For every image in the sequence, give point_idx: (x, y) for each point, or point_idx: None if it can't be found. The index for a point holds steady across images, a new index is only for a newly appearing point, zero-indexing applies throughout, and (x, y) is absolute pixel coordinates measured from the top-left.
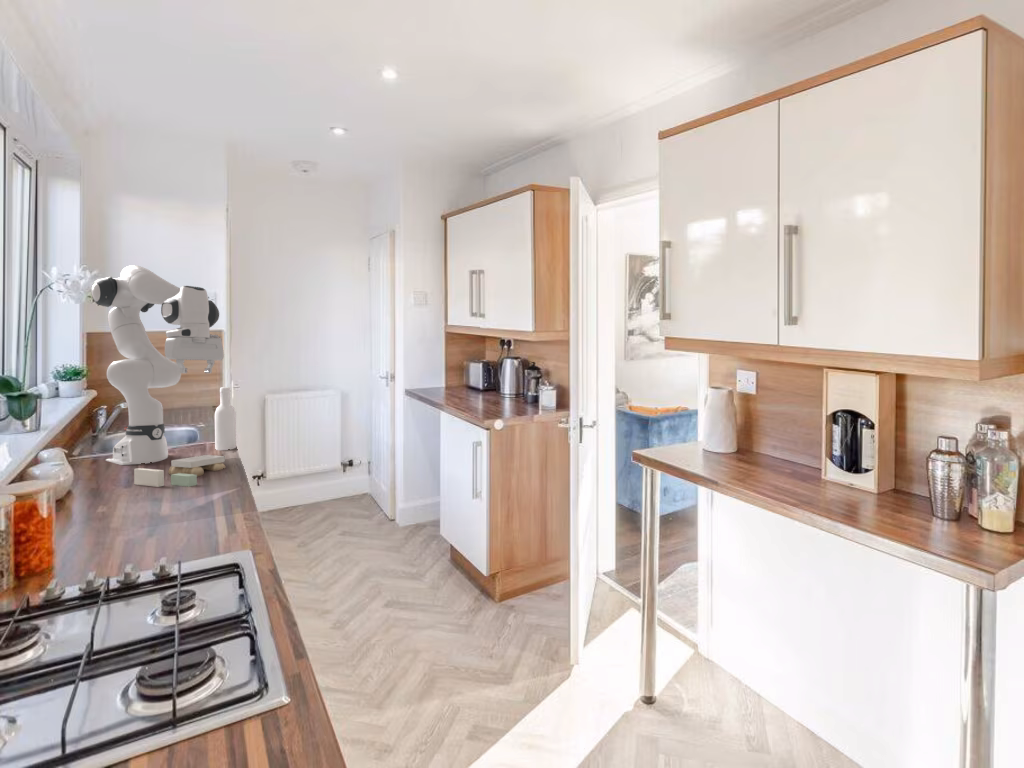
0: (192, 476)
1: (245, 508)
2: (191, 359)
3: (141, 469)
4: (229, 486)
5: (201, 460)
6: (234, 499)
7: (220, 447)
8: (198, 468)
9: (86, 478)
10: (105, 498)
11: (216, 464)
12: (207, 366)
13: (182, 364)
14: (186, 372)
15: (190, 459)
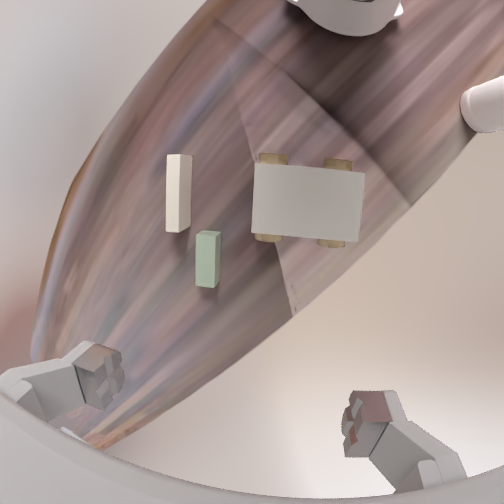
0: (205, 285)
1: (147, 419)
2: (147, 480)
3: (169, 175)
4: (230, 343)
5: (285, 235)
6: (168, 395)
7: (478, 106)
8: (266, 241)
9: (201, 14)
10: (95, 226)
11: (325, 240)
12: (402, 438)
13: (49, 412)
14: (117, 382)
15: (284, 198)
